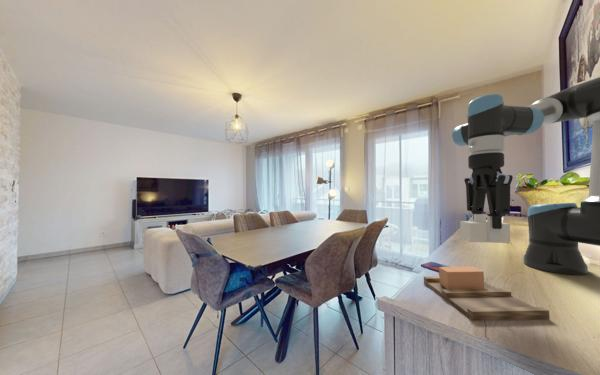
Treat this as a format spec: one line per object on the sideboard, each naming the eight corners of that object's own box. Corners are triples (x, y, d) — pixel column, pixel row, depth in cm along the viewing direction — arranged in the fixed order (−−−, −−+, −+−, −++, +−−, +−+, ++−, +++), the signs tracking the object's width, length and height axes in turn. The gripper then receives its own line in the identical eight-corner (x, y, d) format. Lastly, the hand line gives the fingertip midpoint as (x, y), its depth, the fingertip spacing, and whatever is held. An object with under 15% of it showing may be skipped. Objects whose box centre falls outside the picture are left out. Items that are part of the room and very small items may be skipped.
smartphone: (432, 264, 87) (431, 261, 87) (474, 276, 74) (474, 273, 74) (419, 267, 84) (419, 264, 84) (462, 280, 71) (461, 277, 71)
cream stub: (497, 239, 61) (497, 222, 61) (510, 243, 57) (509, 224, 57) (460, 238, 62) (460, 221, 62) (470, 241, 58) (470, 223, 58)
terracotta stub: (473, 283, 66) (472, 266, 66) (484, 289, 62) (483, 271, 62) (439, 283, 66) (439, 267, 66) (448, 289, 62) (447, 272, 62)
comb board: (478, 281, 69) (478, 275, 69) (549, 319, 49) (549, 310, 49) (424, 282, 69) (423, 276, 69) (472, 320, 49) (472, 311, 49)
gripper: (451, 158, 69) (452, 232, 68) (497, 147, 52) (499, 246, 51) (476, 158, 68) (477, 233, 68) (531, 147, 51) (533, 247, 51)
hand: (486, 238), depth 59 cm, fingers closed on cream stub, 4 cm apart
